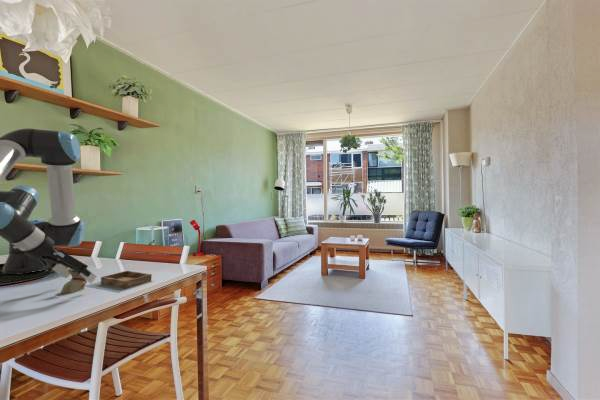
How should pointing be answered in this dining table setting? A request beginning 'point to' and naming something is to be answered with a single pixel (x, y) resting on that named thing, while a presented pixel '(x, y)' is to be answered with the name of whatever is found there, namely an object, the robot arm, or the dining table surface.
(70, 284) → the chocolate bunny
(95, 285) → the mat
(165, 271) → the dining table surface
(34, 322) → the dining table surface
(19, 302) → the dining table surface
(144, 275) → the brown wooden tray
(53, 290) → the dining table surface
